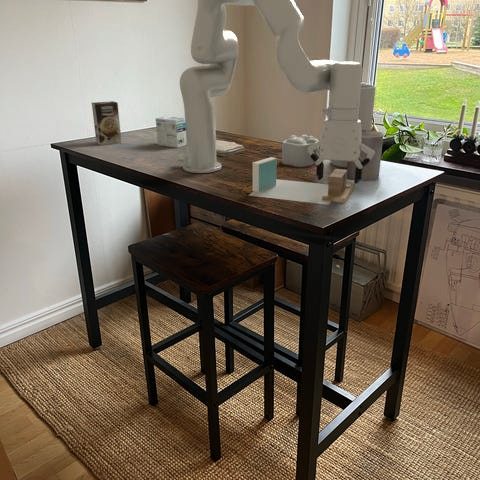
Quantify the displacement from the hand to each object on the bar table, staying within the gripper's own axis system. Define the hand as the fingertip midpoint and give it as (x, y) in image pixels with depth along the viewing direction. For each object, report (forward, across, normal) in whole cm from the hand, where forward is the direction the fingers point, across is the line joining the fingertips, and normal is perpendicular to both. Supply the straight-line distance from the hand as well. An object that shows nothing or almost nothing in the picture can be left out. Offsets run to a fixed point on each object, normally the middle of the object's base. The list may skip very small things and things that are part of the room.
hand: (338, 180), depth 126 cm
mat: (+5, -12, 0) cm, 12 cm away
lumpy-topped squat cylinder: (+5, -19, +34) cm, 40 cm away
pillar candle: (+5, +4, +20) cm, 21 cm away
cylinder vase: (+5, -4, +36) cm, 37 cm away
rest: (+5, 0, +1) cm, 5 cm away
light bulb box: (+5, -74, +42) cm, 86 cm away
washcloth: (+6, -53, +40) cm, 67 cm away
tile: (+4, -20, 0) cm, 21 cm away
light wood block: (+3, 0, +3) cm, 4 cm away
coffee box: (+5, -102, +38) cm, 108 cm away
